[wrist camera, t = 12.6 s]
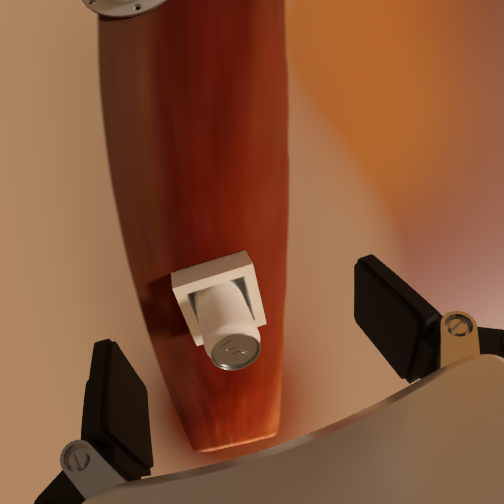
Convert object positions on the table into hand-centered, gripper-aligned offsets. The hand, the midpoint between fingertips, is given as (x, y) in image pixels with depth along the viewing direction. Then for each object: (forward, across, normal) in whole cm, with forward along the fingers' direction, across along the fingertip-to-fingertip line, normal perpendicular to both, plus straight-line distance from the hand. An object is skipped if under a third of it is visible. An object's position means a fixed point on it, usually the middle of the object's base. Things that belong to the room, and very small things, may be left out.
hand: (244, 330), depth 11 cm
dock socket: (+28, 0, +18) cm, 34 cm away
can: (+28, +1, +18) cm, 33 cm away
